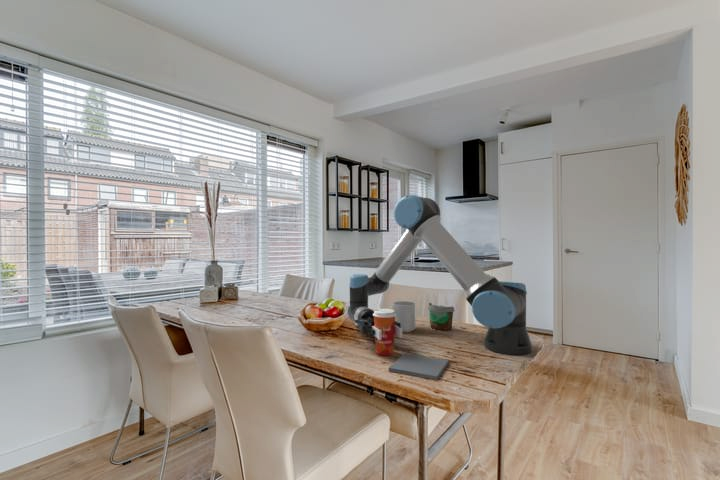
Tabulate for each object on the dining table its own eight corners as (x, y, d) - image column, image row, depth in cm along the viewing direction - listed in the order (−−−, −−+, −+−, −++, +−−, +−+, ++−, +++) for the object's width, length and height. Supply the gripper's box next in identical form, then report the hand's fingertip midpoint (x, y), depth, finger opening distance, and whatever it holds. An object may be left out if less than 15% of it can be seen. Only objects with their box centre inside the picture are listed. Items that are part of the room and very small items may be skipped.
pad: (448, 363, 108) (448, 360, 108) (436, 379, 96) (436, 376, 95) (404, 356, 114) (404, 353, 114) (388, 371, 102) (388, 367, 102)
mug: (410, 334, 140) (410, 306, 140) (389, 331, 145) (389, 304, 145) (420, 327, 151) (420, 301, 151) (401, 324, 155) (401, 299, 155)
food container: (421, 327, 150) (421, 304, 150) (430, 325, 154) (430, 302, 154) (445, 333, 141) (445, 308, 141) (454, 330, 145) (454, 306, 145)
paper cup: (368, 354, 116) (368, 311, 116) (380, 347, 123) (380, 307, 123) (389, 358, 112) (389, 314, 112) (400, 351, 118) (400, 310, 118)
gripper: (390, 326, 138) (418, 343, 116) (342, 330, 131) (361, 349, 110) (390, 306, 137) (418, 320, 116) (342, 310, 131) (361, 325, 109)
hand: (390, 334), depth 113 cm, fingers closed on paper cup, 6 cm apart
